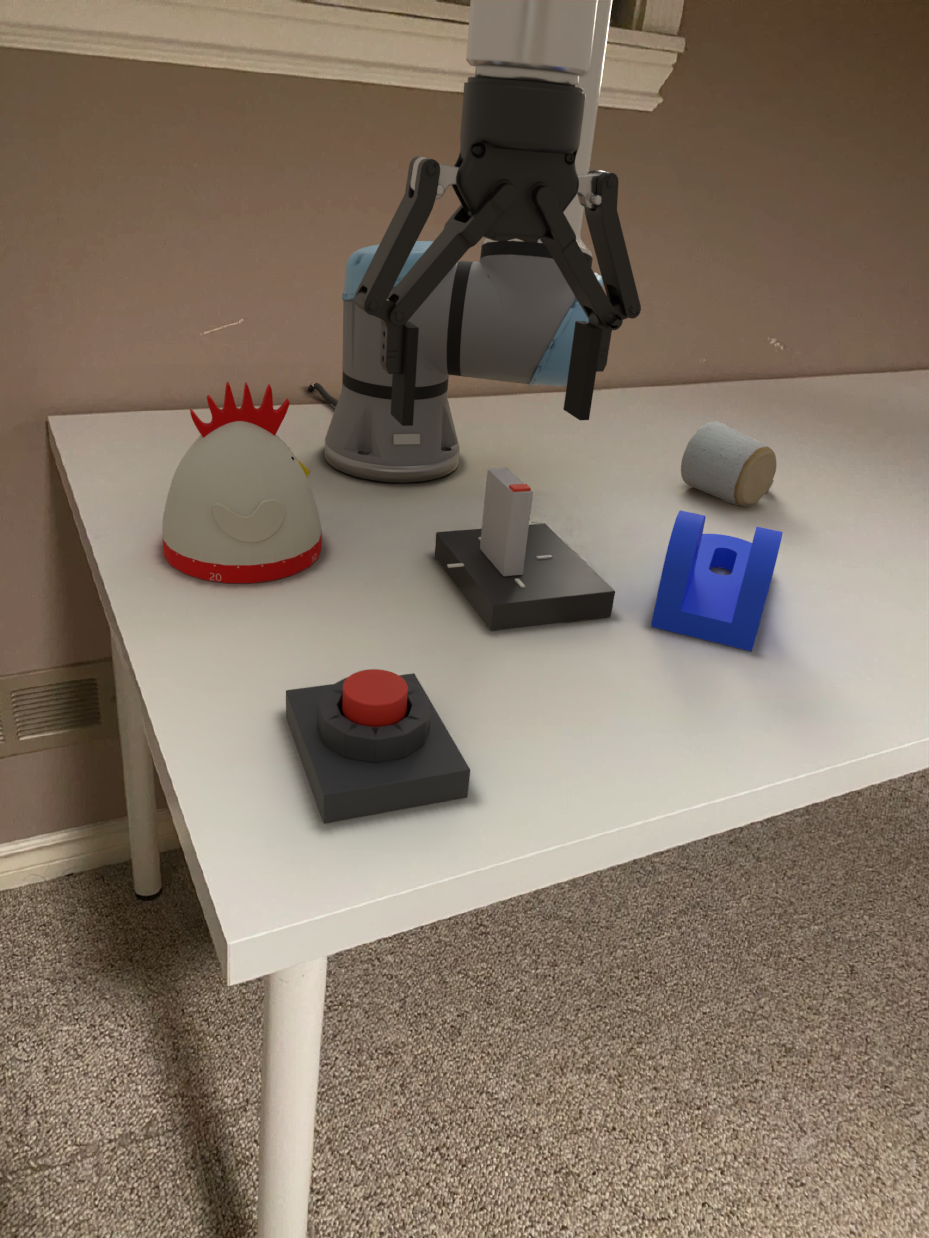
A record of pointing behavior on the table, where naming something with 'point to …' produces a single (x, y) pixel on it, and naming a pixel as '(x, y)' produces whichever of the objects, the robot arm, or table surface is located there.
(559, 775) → the table surface
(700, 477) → the wooden log
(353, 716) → the stop button
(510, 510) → the grey upright block
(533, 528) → the panel
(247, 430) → the kitchen timer
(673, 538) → the bracket
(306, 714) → the stop housing
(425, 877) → the table surface
